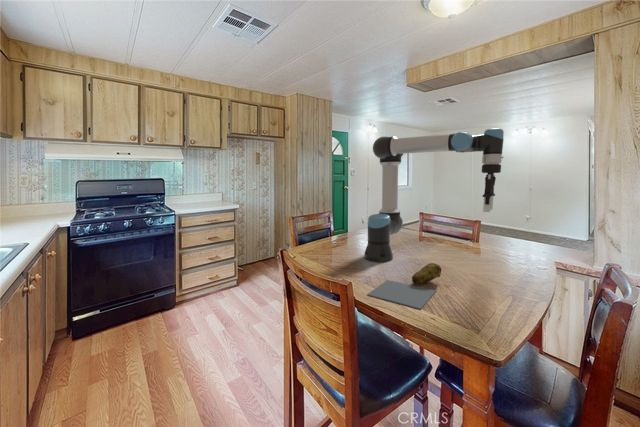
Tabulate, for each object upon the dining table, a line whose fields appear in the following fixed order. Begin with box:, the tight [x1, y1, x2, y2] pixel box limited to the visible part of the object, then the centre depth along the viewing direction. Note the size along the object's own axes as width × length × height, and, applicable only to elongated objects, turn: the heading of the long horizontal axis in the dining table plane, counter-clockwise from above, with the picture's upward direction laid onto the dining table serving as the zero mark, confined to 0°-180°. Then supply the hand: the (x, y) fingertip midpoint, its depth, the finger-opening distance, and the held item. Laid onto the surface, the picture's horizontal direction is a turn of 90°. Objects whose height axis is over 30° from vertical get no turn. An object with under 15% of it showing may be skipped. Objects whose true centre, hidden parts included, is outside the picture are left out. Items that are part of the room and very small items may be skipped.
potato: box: [411, 262, 442, 285], centre depth 118 cm, size 8×13×8 cm, turn 92°
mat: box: [366, 279, 437, 310], centre depth 108 cm, size 20×18×1 cm
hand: (487, 210), depth 132 cm, fingers open, 13 cm apart
